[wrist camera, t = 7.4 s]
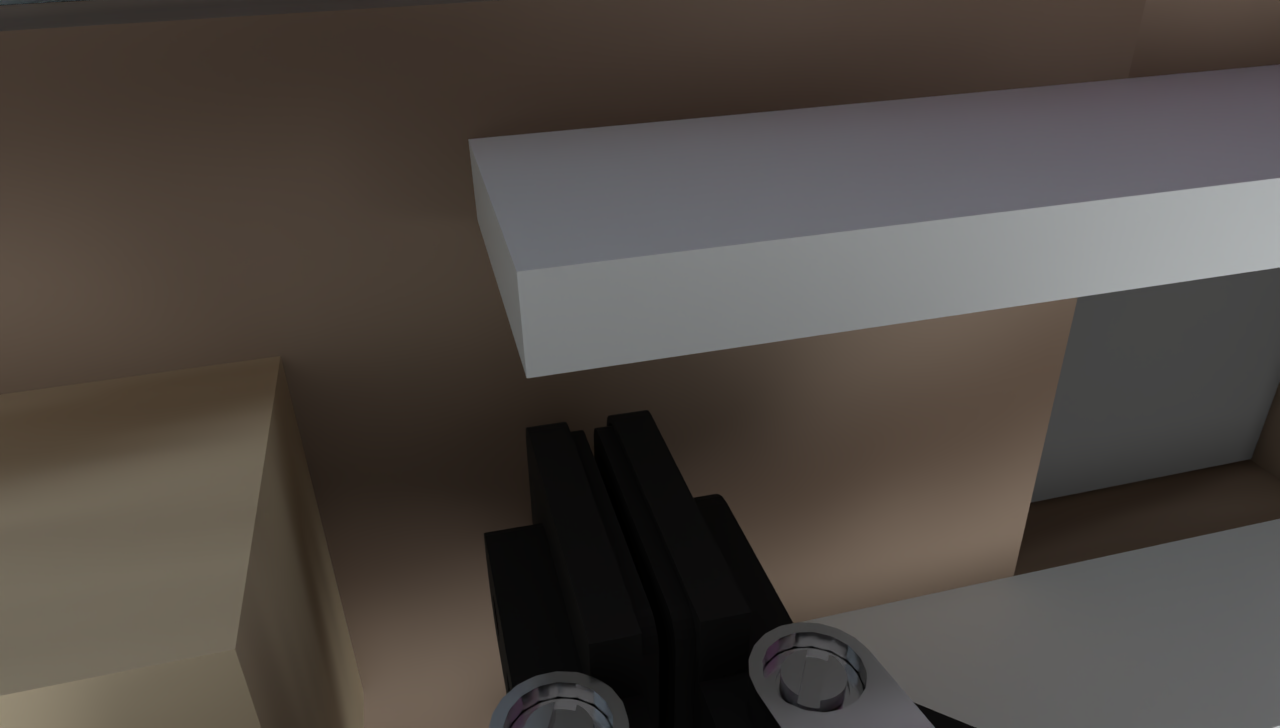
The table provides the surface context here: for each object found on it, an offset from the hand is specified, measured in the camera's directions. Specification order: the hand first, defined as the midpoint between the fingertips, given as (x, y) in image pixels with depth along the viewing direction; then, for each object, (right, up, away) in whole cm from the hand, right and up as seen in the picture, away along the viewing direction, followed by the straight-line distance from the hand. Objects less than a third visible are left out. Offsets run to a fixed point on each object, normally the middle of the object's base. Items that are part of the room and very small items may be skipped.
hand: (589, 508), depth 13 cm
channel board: (+2, +2, +3) cm, 4 cm away
